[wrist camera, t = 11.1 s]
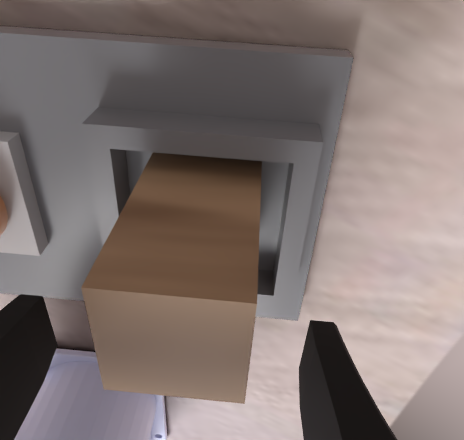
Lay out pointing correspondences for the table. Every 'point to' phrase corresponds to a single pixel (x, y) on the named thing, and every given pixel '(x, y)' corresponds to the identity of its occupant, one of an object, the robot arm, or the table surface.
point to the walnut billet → (180, 281)
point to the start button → (3, 216)
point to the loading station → (157, 144)
